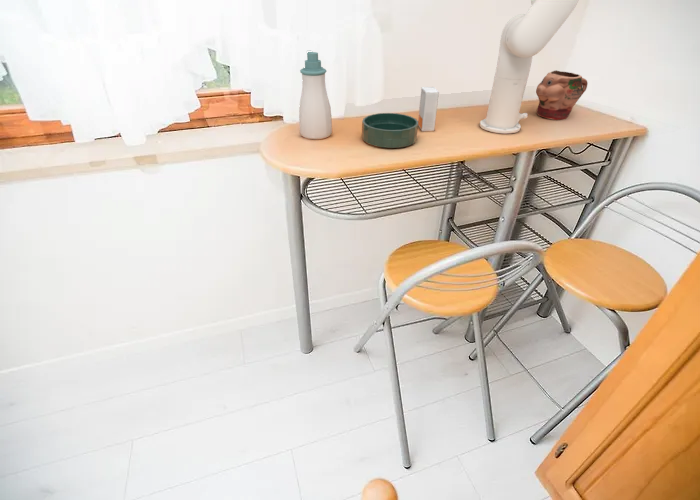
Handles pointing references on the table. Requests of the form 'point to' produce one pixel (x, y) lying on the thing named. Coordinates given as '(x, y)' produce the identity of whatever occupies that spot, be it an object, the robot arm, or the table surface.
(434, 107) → the cosmetic box
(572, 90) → the decorative planter
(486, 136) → the table surface
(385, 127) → the bowl
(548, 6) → the robot arm
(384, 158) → the table surface
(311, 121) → the soap bottle
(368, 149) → the table surface
